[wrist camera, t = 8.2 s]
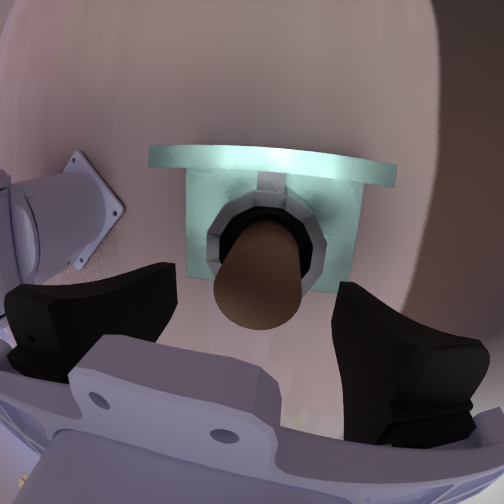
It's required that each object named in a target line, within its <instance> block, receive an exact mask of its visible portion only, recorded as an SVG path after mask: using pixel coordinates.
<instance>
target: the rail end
mask: <svg viewBox="0 0 504 504" xmlns="http://www.w3.org/2000/svg"><path fill="white" fill-rule="evenodd" d="M214 296H215V300H216V303H217V305H218V307H219V308H220V310H221V311H222V313H223V314H224V315H225V316H226V317H227V318H228V319H230V320H231V321H232V322H234V323H236V324H237V325H239V326H242V327H245V328H248V329H253V330H267V329H272V328H275V327H278V326H280V325H282V324H284V323H286V322H287V321H288V320H290V319H291V318H292V317H293V316H294V314H295V313H296V312H297V310H298V308H299V306H300V303H301V299H302V284H301V273H300V262H299V252H298V242H297V235H296V231H295V229H294V227H293V225H292V224H291V223H290V222H289V221H288V220H287V219H286V218H284V217H282V216H280V215H278V214H274V213H263V214H259V215H257V216H255V217H253V218H252V219H251V220H249V221H248V222H247V224H246V225H245V227H244V228H243V230H242V232H241V233H240V235H239V237H238V238H237V240H236V242H235V244H234V245H233V247H232V249H231V250H230V252H229V254H228V255H227V257H226V259H225V260H224V262H223V264H222V266H221V267H220V269H219V271H218V273H217V275H216V277H215V281H214Z"/></svg>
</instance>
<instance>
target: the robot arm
mask: <svg viewBox="0 0 504 504" xmlns="http://www.w3.org/2000/svg"><path fill="white" fill-rule="evenodd" d="M75 159H76V161H75ZM115 211H116V212H117V215H115ZM123 213H124V206H123V205H122V203H121V202H120V201H119V200H118V199H117V197H116V196H115V195H114V194H113V192H112V191H111V190H110V189H109V187H108V186H107V185H106V184H105V182H104V181H103V180H102V179H101V177H100V176H99V175H98V174H97V172H96V171H95V170H94V168H93V167H92V166H91V164H90V163H89V162H88V161H87V159H86V158H85V157H84V155H83V154H82V153H81V152H80V151H76V152H75V153H74V154H73V156H72V157H71V159H70V160H69V162H68V164H67V165H66V167H65V169H64V170H63V172H62V173H60V174H55V175H50V176H45V177H40V178H35V179H31V180H26V181H22V182H18V183H13V184H11V176H10V175H9V174H7V173H6V172H5V171H4V170H3V169H0V330H1V329H3V328H5V327H7V326H8V325H9V326H10V328H11V331H12V333H13V336H14V338H15V341H16V343H17V346H16V347H15V348H14V349H12V348H11V346H10V345H9V344H8V343H6V342H5V341H3V340H2V339H0V423H2V424H3V425H4V426H5V427H6V428H7V429H8V430H9V431H10V432H11V433H13V434H14V435H15V436H16V437H17V438H18V439H19V440H20V441H22V442H23V443H24V444H25V445H26V446H28V447H29V448H30V449H31V450H33V451H34V452H35V453H36V454H38V455H39V456H40V457H41V458H40V460H39V461H38V463H37V464H36V466H35V467H34V469H33V470H32V472H31V474H30V475H29V476H28V478H27V480H26V481H25V483H24V484H23V486H22V487H21V489H20V491H19V492H18V494H17V496H16V497H15V499H14V500H13V502H12V504H457V503H459V502H461V501H464V500H466V499H468V498H471V497H473V496H475V495H477V494H479V493H480V492H482V491H483V490H484V489H486V488H487V487H488V486H490V485H491V484H492V483H493V482H494V481H496V480H497V479H498V478H499V477H501V476H502V475H503V474H504V414H503V412H502V411H501V408H500V407H497V408H494V409H491V410H487V411H484V412H481V413H479V414H477V415H476V416H474V417H473V418H472V416H471V414H470V412H469V411H471V410H472V408H473V404H472V402H471V400H470V398H471V397H472V395H473V394H474V392H475V391H476V389H477V388H478V386H479V385H480V383H481V382H482V380H483V378H484V377H485V375H486V372H487V370H488V367H489V363H490V354H489V352H488V350H487V349H486V348H485V346H484V345H483V344H482V342H481V341H480V340H478V339H472V338H467V337H461V336H456V335H452V334H448V333H445V332H441V331H439V330H436V329H433V328H430V327H427V326H425V325H422V324H420V323H418V322H416V321H414V320H412V319H410V318H408V317H406V316H404V315H402V314H400V313H399V312H397V311H395V310H394V309H392V308H391V307H389V306H388V305H386V304H385V303H383V302H382V301H380V300H379V299H377V298H376V297H375V296H373V295H372V294H371V293H369V292H368V291H367V290H365V289H364V288H362V287H361V286H359V285H358V284H356V283H354V282H345V281H340V284H339V289H338V293H337V298H336V303H335V307H334V311H333V316H332V320H331V327H332V339H333V344H334V349H335V353H336V358H337V362H338V367H339V371H340V376H341V381H342V389H343V405H344V440H339V439H334V438H329V437H324V436H319V435H315V434H310V433H306V432H302V431H298V430H294V429H290V428H287V427H283V426H280V417H281V403H282V398H281V394H280V389H279V385H278V382H277V381H276V380H275V379H274V378H272V377H271V376H270V375H269V374H268V373H267V372H266V371H264V370H263V369H262V368H261V367H260V366H257V365H254V364H251V363H248V362H244V361H241V360H238V359H235V358H233V357H227V356H220V355H214V354H208V353H202V352H197V351H191V350H186V349H181V348H176V347H171V346H167V345H162V344H157V343H155V342H156V341H157V339H158V338H159V336H160V335H161V333H162V332H163V330H164V329H165V327H166V326H167V324H168V323H169V321H170V319H171V317H172V315H173V313H174V311H175V308H176V306H177V304H178V301H177V286H176V267H175V263H167V262H160V263H155V264H152V265H148V266H145V267H142V268H139V269H136V270H133V271H130V272H127V273H124V274H121V275H117V276H114V277H111V278H107V279H103V280H98V281H93V282H87V283H79V284H71V285H41V284H42V283H44V282H46V281H47V280H49V279H50V278H52V277H53V276H55V275H56V274H58V273H60V272H61V271H63V270H64V269H66V268H68V267H69V266H71V265H72V264H73V265H74V266H75V268H76V269H77V270H81V269H82V268H83V267H84V265H85V264H86V263H87V261H88V260H89V258H90V257H91V255H92V254H93V253H94V251H95V250H96V248H97V247H98V246H99V244H100V243H101V241H102V240H103V239H104V237H105V236H106V235H107V233H108V232H109V231H110V229H111V228H112V227H113V226H114V224H115V223H116V222H117V220H118V219H119V218H120V217H121V215H122V214H123ZM82 259H83V260H82Z"/></svg>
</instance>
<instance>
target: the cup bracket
mask: <svg viewBox="0 0 504 504" xmlns="http://www.w3.org/2000/svg"><path fill="white" fill-rule="evenodd" d="M155 167H178V168H187V169H186V271H187V277H190V278H197V279H205V280H213V281H215V277H216V275H217V273H218V271H219V269H220V267H221V266H222V264H223V262H224V260H225V259H226V257H227V255H228V254H229V252H230V250H231V249H232V247H233V245H234V244H235V242H236V240H237V238H238V237H239V235H240V233H241V232H242V230H243V228H244V227H245V225H246V224H247V222H248V221H249V220H251V219H252V218H253V217H255V216H257V215H259V214H263V213H274V214H278V215H280V216H282V217H284V218H286V219H287V220H288V221H289V222H290V223H291V224H292V225H293V227H294V229H295V231H296V235H297V242H298V252H299V262H300V273H301V284H302V297H303V296H304V295H305V294H306V293H307V292H308V291H315V292H326V293H338V289H339V284H340V281H345V282H348V278H349V274H350V269H351V264H352V258H353V253H354V248H355V242H356V236H357V230H358V224H359V217H360V211H361V203H362V196H363V188H364V183H368V184H374V185H380V186H386V187H392V188H394V186H395V178H396V169H397V165H393V164H388V163H383V162H378V161H372V160H367V159H361V158H355V157H348V156H342V155H335V154H327V153H319V152H311V151H302V150H292V149H281V148H268V147H252V146H230V145H163V146H150V152H149V168H155Z"/></svg>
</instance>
